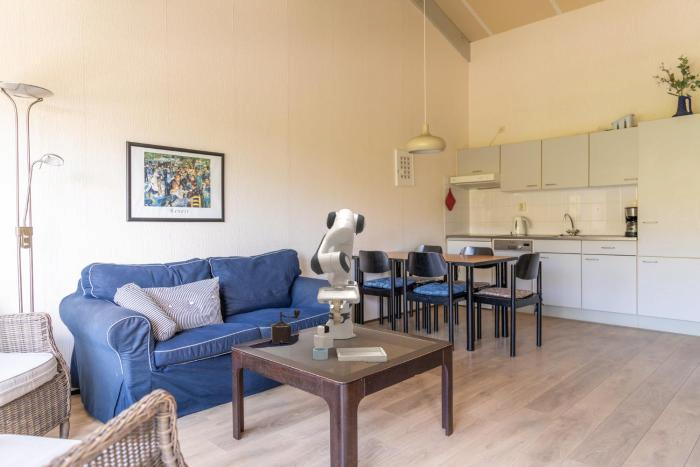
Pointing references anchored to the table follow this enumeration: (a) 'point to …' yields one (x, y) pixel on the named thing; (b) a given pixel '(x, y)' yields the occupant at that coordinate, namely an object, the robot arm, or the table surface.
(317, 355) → the cup
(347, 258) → the robot arm
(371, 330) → the table surface
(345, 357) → the tray
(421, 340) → the table surface
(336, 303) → the dowel
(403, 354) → the table surface
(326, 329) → the medicine bottle
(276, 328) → the brown coffee grinder
